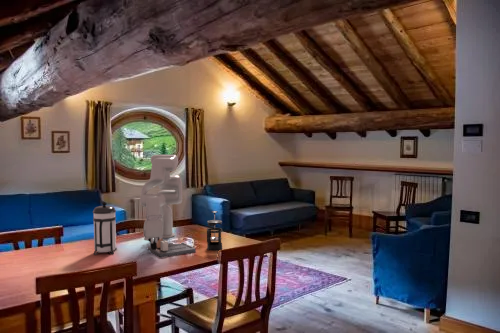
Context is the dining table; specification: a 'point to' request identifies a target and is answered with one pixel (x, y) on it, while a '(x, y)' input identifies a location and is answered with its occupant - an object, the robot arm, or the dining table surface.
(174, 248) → the console
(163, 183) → the robot arm
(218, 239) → the french press
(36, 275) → the dining table surface
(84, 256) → the dining table surface
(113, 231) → the coffee press
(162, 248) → the fader ivory
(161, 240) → the fader terracotta
